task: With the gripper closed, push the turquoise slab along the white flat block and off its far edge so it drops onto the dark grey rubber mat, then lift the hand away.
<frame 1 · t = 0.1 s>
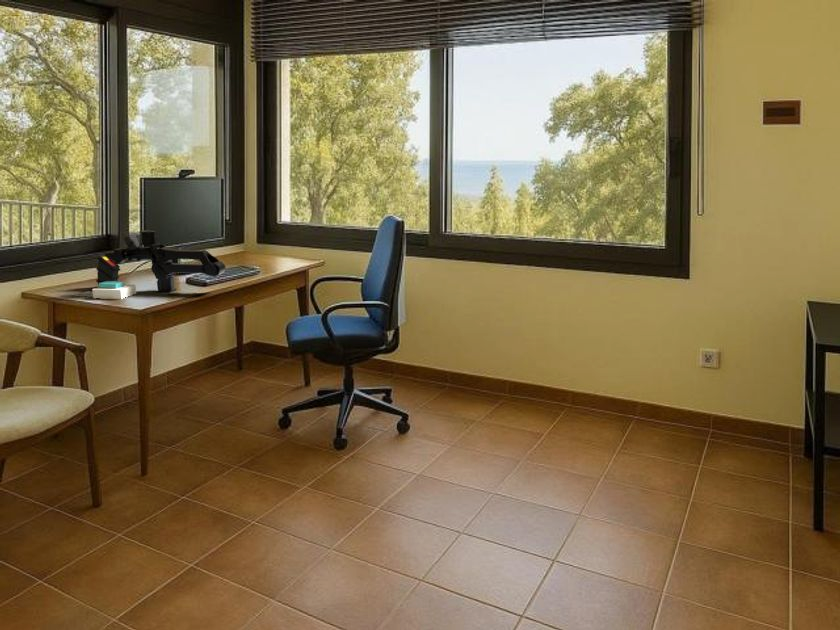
hand: (110, 253, 333), 17 cm above the table, tool horizontal, fingers open, 9 cm apart
white flat block: (115, 296, 323), on the table
turquoise slab: (111, 287, 322), point 4 cm above the table, touching white flat block
mat: (91, 294, 326), on the table
black stepped slab: (109, 288, 340), on the table
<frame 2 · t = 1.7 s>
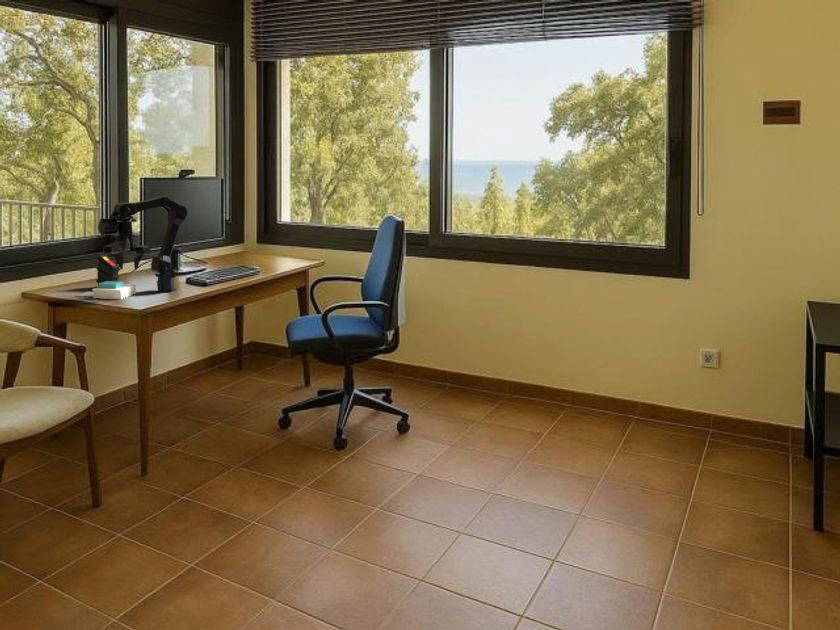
hand: (128, 269, 318), 12 cm above the table, tool pointing down, fingers open, 6 cm apart
nothing on the table moved.
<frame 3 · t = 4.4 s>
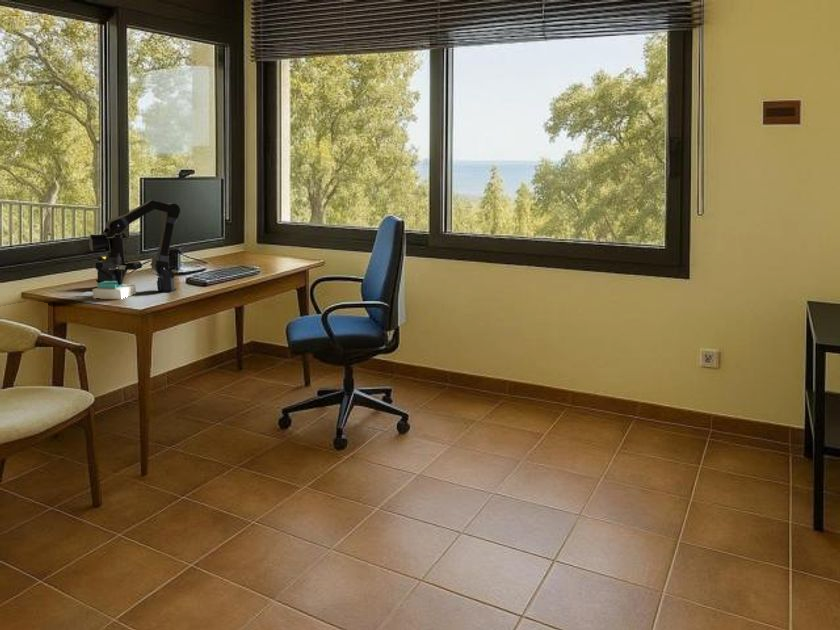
hand: (120, 284, 321), 5 cm above the table, tool pointing down, fingers closed
turquoise slab: (110, 287, 322), point 4 cm above the table, touching white flat block, gripper
everything else where it was.
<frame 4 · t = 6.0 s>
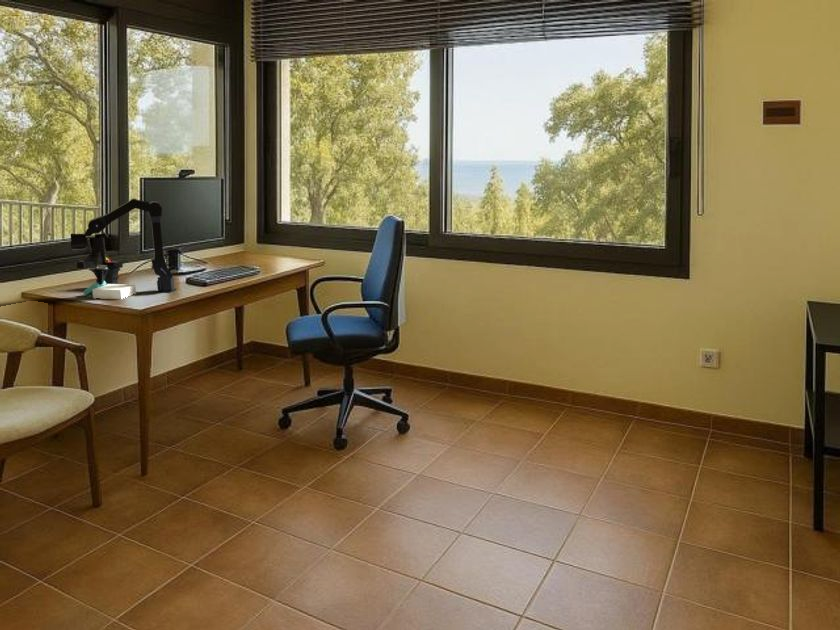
hand: (101, 284, 322), 5 cm above the table, tool pointing down, fingers closed
turquoise slab: (96, 289, 324), point 3 cm above the table, tilted 33°, touching gripper
everything else where it was.
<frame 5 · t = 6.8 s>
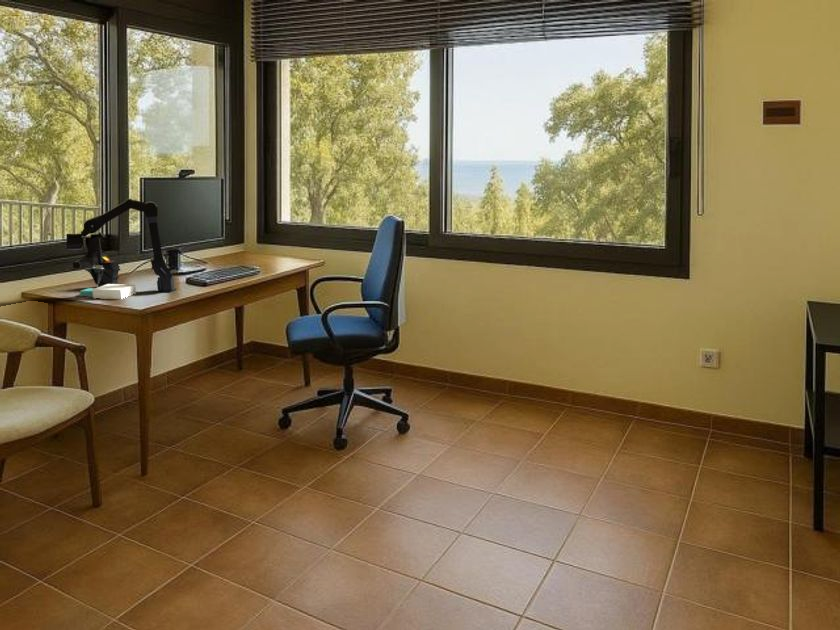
hand: (97, 284, 322), 5 cm above the table, tool pointing down, fingers closed
turquoise slab: (93, 294, 325), resting on mat
everything else where it was.
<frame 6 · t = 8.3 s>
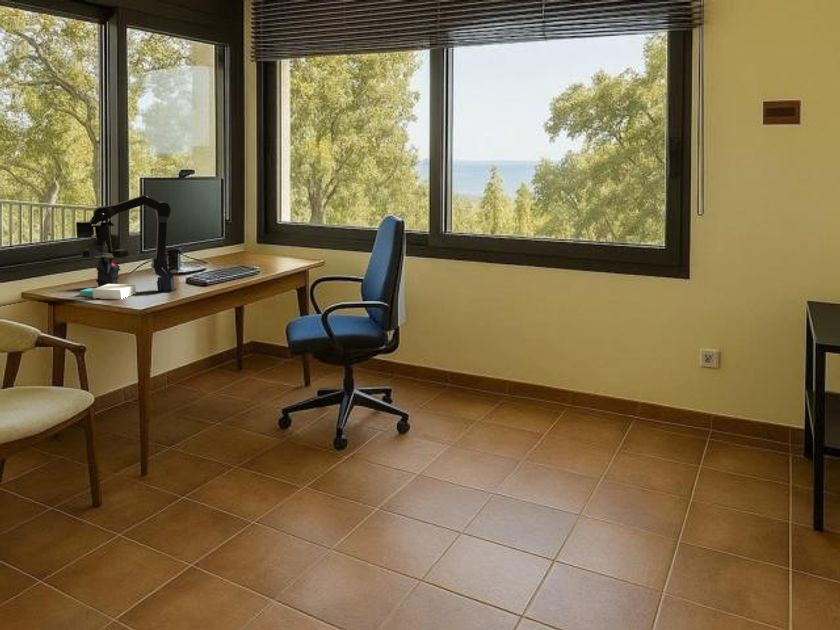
hand: (107, 273, 320), 10 cm above the table, tool pointing down, fingers closed
nothing on the table moved.
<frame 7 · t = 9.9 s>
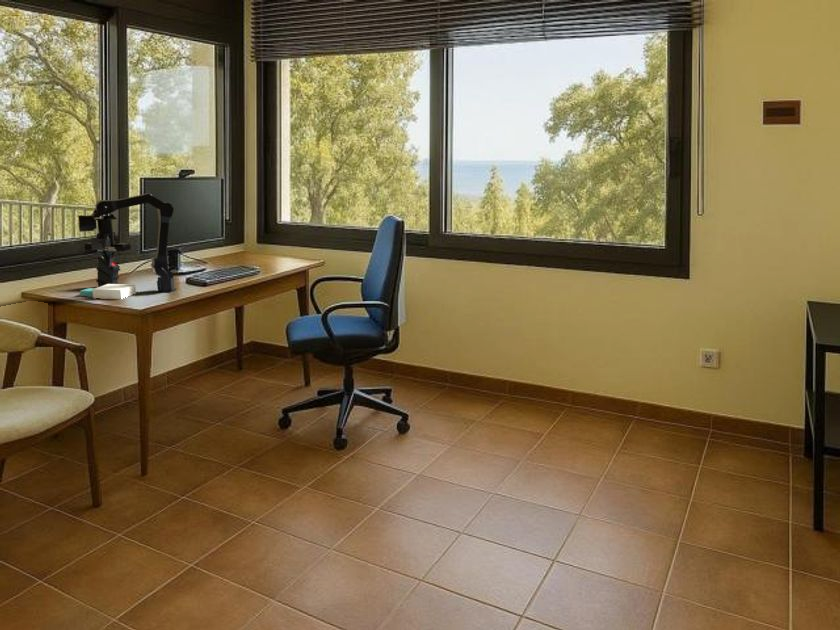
hand: (109, 266, 320), 13 cm above the table, tool pointing down, fingers closed
nothing on the table moved.
at the end: turquoise slab resting on mat; turquoise slab inside the target area on the mat (1.3 cm from its centre), point 0.3 cm above the mat's base; turquoise slab touching mat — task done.
